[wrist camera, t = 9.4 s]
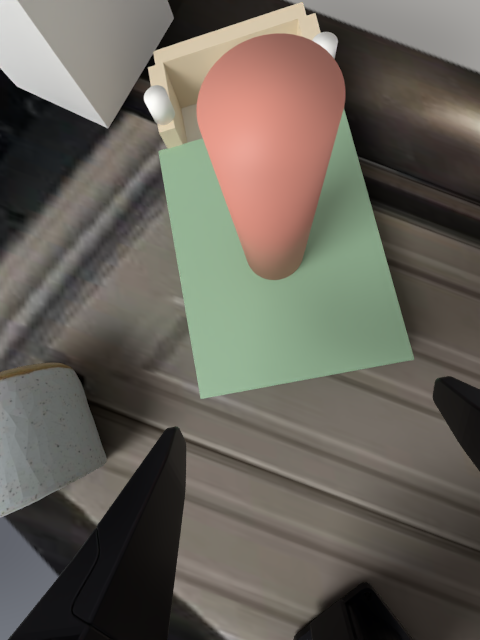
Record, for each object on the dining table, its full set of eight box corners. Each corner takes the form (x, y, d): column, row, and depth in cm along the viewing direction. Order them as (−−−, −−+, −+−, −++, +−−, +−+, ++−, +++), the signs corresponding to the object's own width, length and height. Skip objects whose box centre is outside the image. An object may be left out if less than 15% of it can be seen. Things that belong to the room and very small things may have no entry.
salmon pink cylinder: (316, 253, 19) (379, 96, 7) (271, 291, 19) (259, 200, 7) (277, 213, 20) (276, 6, 8) (234, 250, 20) (169, 103, 8)
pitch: (397, 358, 20) (414, 359, 17) (209, 393, 21) (200, 398, 19) (334, 124, 22) (341, 98, 20) (170, 171, 24) (158, 151, 21)
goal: (326, 127, 22) (342, 56, 17) (176, 169, 24) (146, 115, 18) (307, 57, 23) (317, -32, 18) (164, 102, 25) (132, 31, 19)
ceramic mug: (93, 354, 23) (0, 357, 15) (128, 450, 22) (45, 504, 14) (-11, 407, 24) (-147, 434, 16) (16, 502, 23) (-117, 579, 15)
